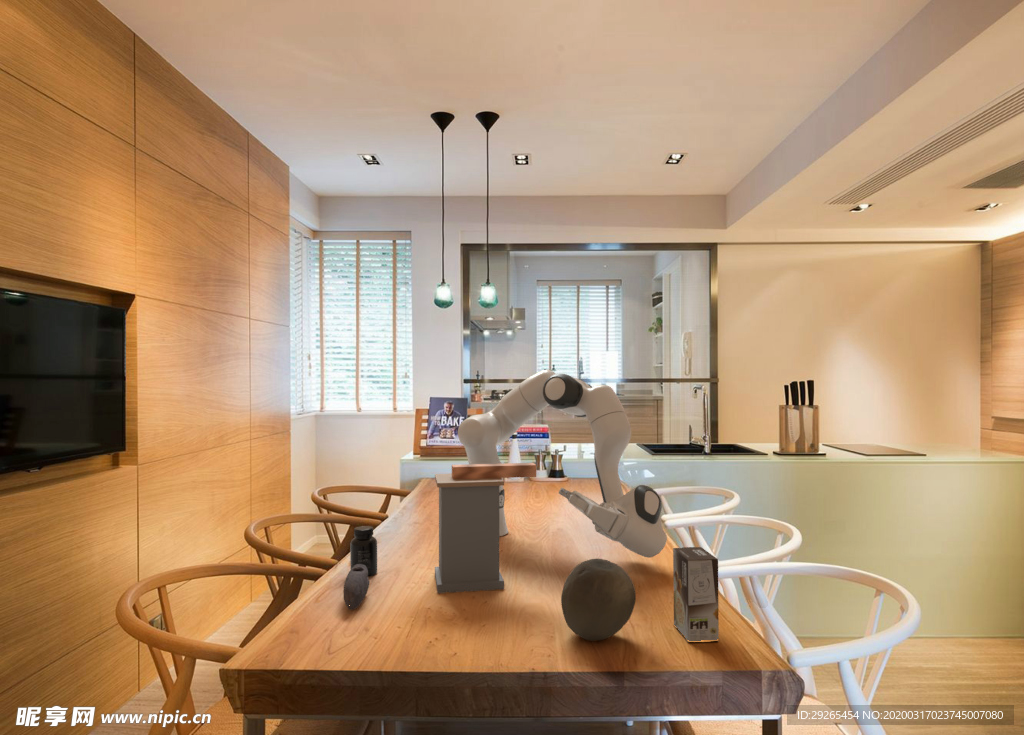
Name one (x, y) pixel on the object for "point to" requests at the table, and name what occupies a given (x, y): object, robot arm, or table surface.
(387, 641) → the table surface
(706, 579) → the coffee box
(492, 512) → the stand
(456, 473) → the bar
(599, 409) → the robot arm
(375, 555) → the supplement bottle
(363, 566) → the perforated stone tool
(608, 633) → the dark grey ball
